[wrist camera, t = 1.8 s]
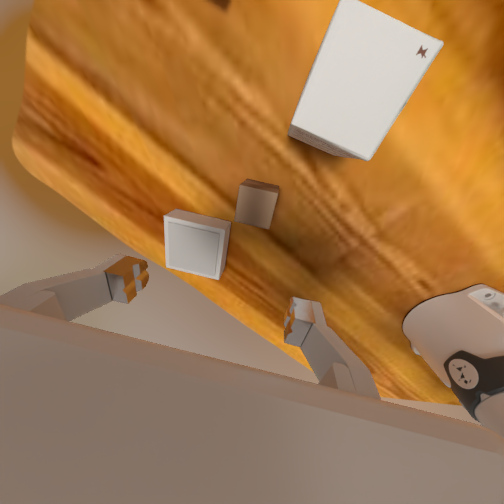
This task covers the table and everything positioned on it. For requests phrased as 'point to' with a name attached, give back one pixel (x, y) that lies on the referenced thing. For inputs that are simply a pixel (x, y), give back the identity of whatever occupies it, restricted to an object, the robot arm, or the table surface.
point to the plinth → (196, 243)
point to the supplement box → (360, 81)
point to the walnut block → (256, 203)
